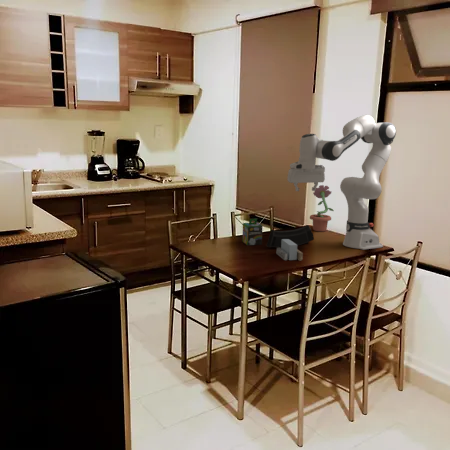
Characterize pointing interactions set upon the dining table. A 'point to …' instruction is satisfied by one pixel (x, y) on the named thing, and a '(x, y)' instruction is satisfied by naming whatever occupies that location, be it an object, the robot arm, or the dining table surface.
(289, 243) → the book
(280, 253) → the gray flat block
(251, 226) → the chalk box
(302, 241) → the magazine
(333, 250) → the dining table surface
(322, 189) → the decorative flower
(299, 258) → the shelf wall
